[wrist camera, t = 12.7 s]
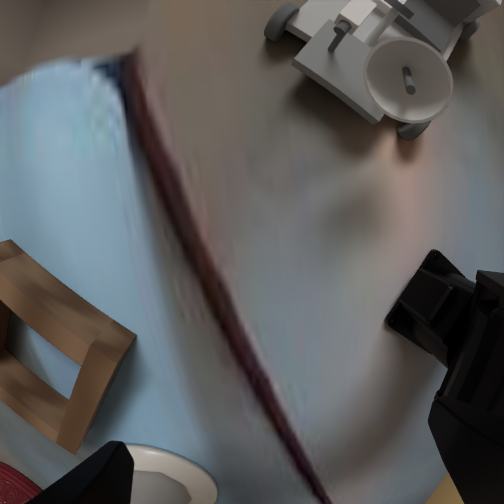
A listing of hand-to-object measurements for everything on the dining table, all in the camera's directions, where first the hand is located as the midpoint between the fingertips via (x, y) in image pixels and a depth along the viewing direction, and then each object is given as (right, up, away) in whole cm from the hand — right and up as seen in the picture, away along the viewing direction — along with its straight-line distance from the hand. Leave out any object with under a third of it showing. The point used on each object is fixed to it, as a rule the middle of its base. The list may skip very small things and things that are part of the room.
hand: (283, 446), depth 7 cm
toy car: (+8, +21, +10) cm, 25 cm away
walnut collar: (-18, -3, +13) cm, 23 cm away
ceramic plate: (-11, -19, +17) cm, 27 cm away
